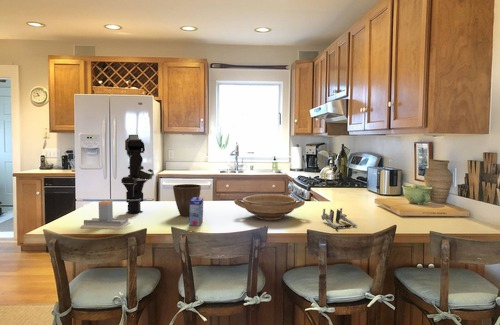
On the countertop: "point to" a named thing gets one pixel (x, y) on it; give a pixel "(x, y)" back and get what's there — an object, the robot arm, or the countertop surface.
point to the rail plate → (105, 223)
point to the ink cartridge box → (196, 211)
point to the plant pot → (185, 196)
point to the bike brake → (337, 219)
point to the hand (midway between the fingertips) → (136, 195)
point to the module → (105, 211)
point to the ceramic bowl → (269, 205)
